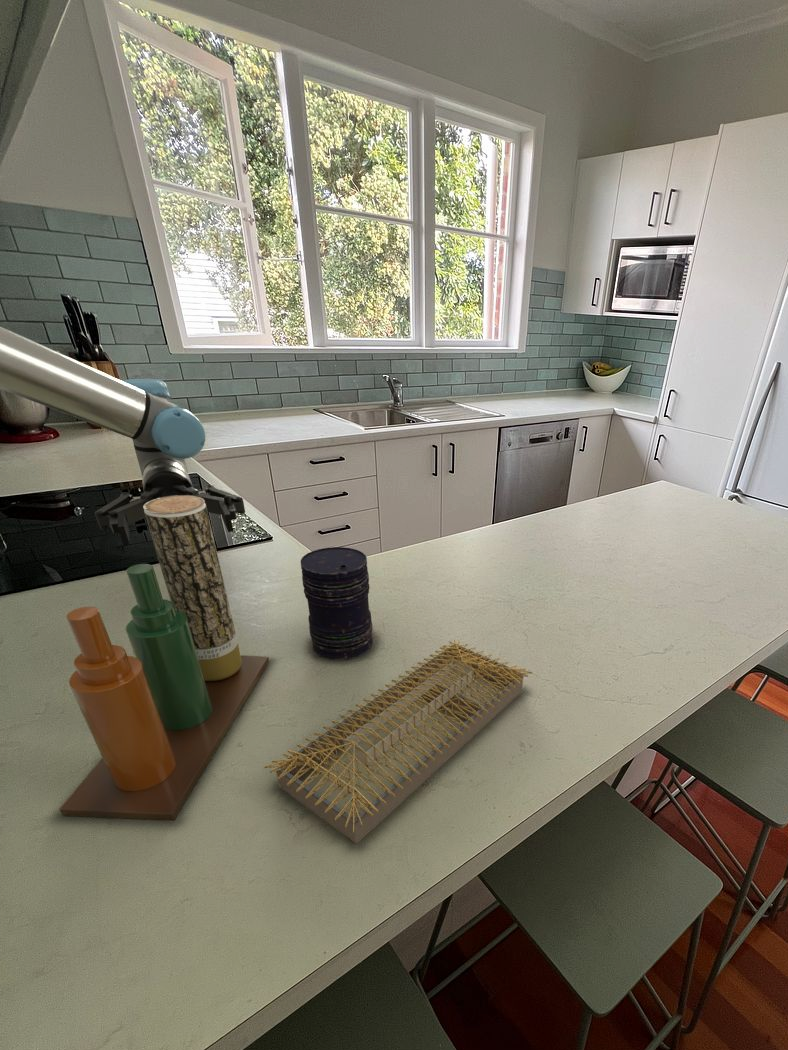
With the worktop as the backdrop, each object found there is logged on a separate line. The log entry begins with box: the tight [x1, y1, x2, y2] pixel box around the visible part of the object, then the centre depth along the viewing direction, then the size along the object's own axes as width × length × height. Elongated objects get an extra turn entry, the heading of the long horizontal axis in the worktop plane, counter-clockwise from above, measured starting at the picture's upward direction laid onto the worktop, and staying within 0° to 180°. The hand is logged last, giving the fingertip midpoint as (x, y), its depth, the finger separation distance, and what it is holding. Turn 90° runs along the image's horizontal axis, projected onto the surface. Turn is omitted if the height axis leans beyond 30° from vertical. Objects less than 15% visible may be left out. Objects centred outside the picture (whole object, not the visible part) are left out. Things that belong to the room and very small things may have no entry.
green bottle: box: [125, 563, 213, 730], centre depth 66 cm, size 6×6×21 cm
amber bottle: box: [65, 606, 176, 791], centre depth 57 cm, size 6×6×21 cm
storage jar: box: [300, 546, 374, 661], centre depth 85 cm, size 10×10×15 cm
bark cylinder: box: [143, 495, 242, 681], centre depth 73 cm, size 7×7×25 cm
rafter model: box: [263, 638, 533, 844], centre depth 70 cm, size 35×14×6 cm, turn 145°
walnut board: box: [59, 654, 270, 821], centre depth 71 cm, size 12×30×1 cm, turn 179°
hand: (178, 529), depth 78 cm, fingers open, 13 cm apart
